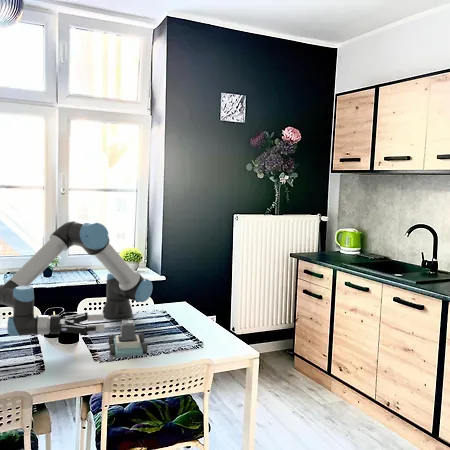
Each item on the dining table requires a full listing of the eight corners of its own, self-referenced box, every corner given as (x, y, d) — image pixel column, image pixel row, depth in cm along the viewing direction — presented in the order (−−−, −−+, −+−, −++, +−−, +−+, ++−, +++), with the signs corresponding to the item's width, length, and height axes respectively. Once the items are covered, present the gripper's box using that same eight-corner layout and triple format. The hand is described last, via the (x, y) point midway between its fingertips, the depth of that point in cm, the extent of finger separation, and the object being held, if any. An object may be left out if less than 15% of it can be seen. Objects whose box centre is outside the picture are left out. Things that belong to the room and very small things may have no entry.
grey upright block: (121, 346, 198) (121, 323, 197) (120, 342, 203) (120, 319, 202) (134, 346, 199) (135, 323, 198) (133, 341, 205) (133, 319, 203)
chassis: (108, 341, 208) (108, 332, 207) (142, 339, 212) (143, 330, 211) (110, 356, 191) (110, 347, 190) (147, 354, 195) (148, 345, 194)
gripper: (52, 323, 204) (103, 321, 209) (47, 344, 180) (104, 341, 186) (52, 306, 203) (103, 304, 209) (47, 325, 179) (105, 322, 185)
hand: (104, 322), depth 197 cm, fingers open, 13 cm apart
